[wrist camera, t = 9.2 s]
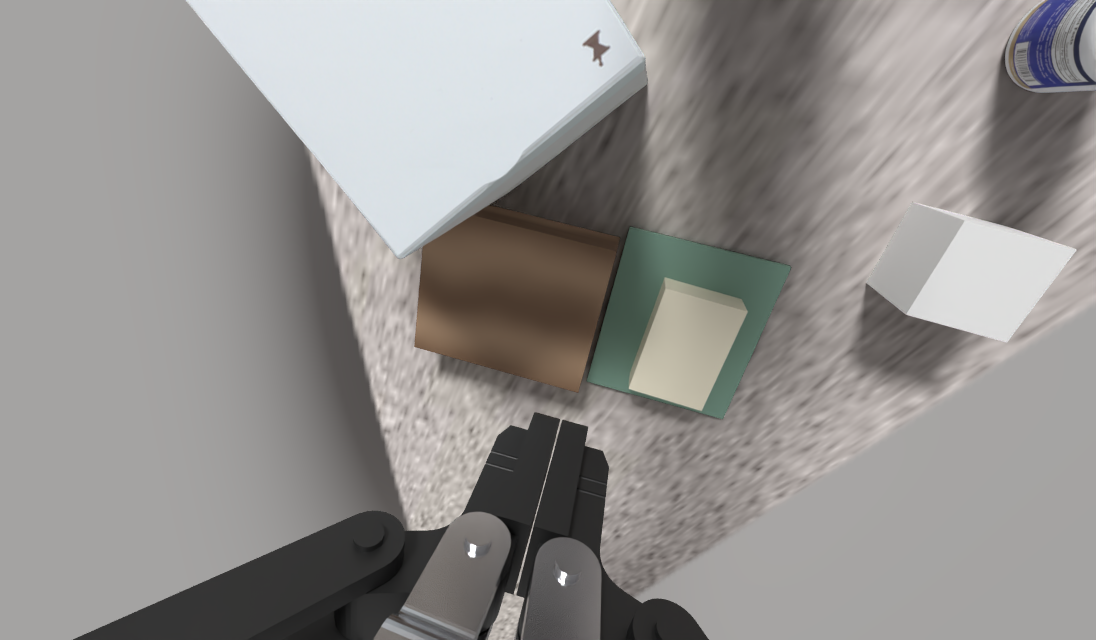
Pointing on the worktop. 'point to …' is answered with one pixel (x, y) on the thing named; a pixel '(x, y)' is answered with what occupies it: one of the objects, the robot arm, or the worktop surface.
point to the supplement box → (431, 93)
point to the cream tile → (686, 343)
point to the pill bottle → (1054, 47)
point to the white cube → (966, 271)
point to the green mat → (694, 265)
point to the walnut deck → (515, 294)
